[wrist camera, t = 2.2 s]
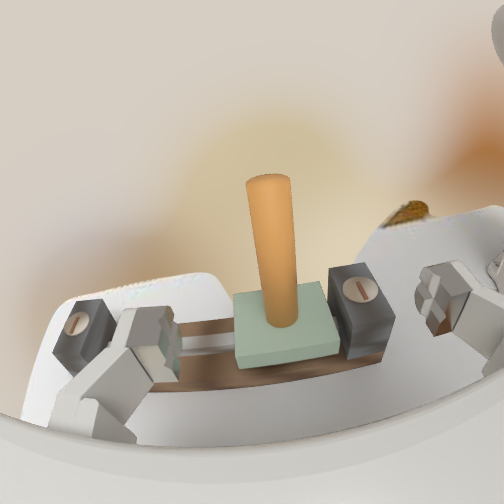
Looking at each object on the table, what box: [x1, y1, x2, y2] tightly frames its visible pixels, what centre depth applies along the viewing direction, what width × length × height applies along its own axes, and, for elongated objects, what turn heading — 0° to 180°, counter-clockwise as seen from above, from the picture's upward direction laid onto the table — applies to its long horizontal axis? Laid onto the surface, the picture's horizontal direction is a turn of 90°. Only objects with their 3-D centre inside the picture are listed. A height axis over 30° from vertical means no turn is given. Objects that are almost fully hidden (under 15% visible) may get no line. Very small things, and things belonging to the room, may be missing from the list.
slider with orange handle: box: [234, 174, 340, 369], centre depth 23 cm, size 9×8×15 cm
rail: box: [52, 262, 396, 392], centre depth 28 cm, size 33×8×8 cm, turn 94°
